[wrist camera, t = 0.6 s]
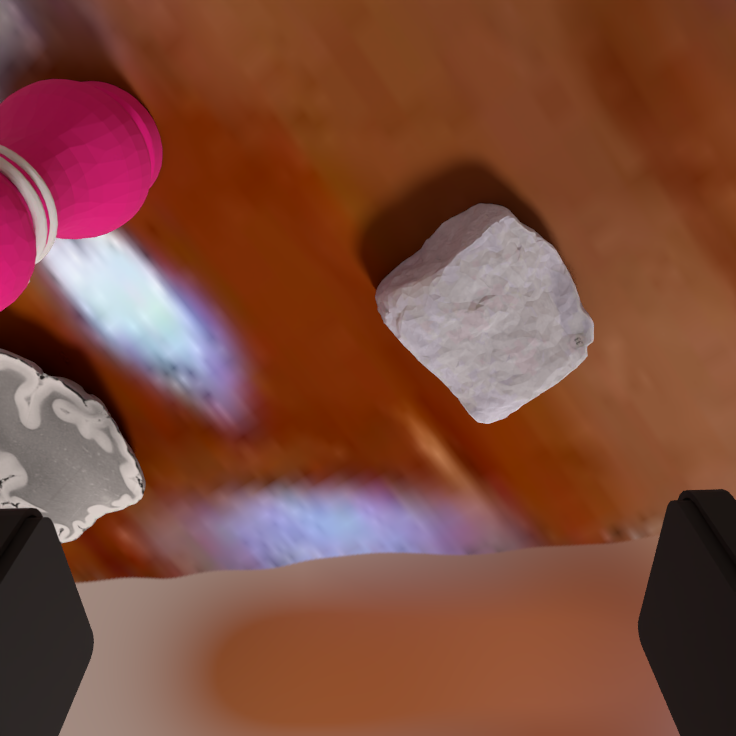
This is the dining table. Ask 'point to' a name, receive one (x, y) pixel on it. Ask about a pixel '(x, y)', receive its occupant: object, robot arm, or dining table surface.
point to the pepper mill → (68, 169)
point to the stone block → (488, 311)
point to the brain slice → (61, 450)
